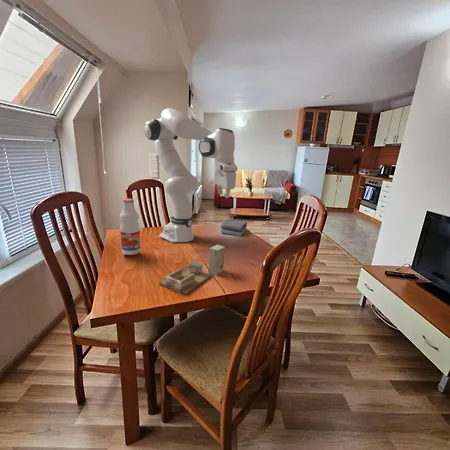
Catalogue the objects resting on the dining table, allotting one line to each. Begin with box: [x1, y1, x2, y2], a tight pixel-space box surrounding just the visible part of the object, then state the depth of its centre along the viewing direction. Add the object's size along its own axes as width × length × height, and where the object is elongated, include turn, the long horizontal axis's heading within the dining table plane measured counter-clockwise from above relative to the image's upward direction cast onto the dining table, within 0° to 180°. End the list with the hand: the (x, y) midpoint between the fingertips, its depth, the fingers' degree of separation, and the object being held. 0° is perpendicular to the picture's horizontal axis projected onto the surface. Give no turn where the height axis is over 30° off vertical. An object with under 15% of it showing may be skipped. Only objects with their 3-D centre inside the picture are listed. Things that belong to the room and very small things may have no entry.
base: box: [158, 265, 213, 296], centre depth 105 cm, size 14×18×4 cm
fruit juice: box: [119, 198, 142, 256], centre depth 127 cm, size 9×9×28 cm
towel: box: [220, 217, 248, 237], centre depth 172 cm, size 15×18×8 cm
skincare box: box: [208, 244, 225, 276], centre depth 113 cm, size 6×4×12 cm
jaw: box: [188, 261, 203, 274], centre depth 110 cm, size 5×3×4 cm, turn 59°
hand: (223, 196), depth 117 cm, fingers open, 8 cm apart
